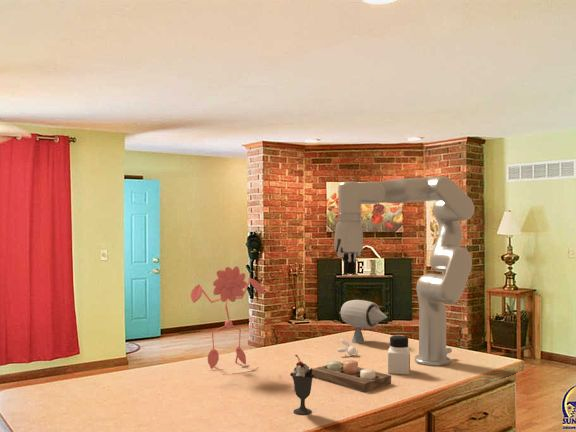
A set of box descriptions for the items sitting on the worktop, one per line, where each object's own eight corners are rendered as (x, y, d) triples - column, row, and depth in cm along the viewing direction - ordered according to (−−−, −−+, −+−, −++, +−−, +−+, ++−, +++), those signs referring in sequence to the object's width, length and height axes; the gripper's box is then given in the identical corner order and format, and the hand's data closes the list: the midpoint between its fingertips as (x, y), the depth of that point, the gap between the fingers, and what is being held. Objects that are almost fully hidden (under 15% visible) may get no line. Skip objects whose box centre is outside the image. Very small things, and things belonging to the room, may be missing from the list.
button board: (338, 369, 196) (338, 362, 196) (391, 383, 179) (391, 375, 179) (311, 376, 187) (311, 368, 187) (364, 392, 171) (364, 383, 171)
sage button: (334, 370, 191) (334, 360, 191) (344, 373, 188) (344, 362, 188) (324, 373, 188) (324, 362, 188) (334, 376, 185) (334, 365, 185)
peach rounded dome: (349, 370, 186) (350, 359, 186) (360, 373, 183) (360, 362, 183) (340, 372, 183) (340, 361, 183) (351, 375, 180) (351, 364, 180)
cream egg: (366, 379, 181) (366, 368, 181) (378, 382, 178) (378, 371, 178) (357, 382, 178) (357, 371, 178) (368, 385, 175) (368, 374, 175)
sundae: (288, 408, 156) (289, 352, 156) (313, 407, 157) (313, 352, 157) (291, 416, 150) (291, 358, 150) (316, 415, 150) (316, 358, 150)
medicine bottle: (409, 375, 189) (410, 338, 189) (387, 373, 191) (388, 337, 191) (409, 369, 196) (409, 334, 196) (388, 368, 198) (388, 333, 198)
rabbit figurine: (357, 357, 212) (337, 347, 213) (353, 363, 215) (334, 353, 216) (361, 346, 217) (342, 336, 218) (357, 352, 219) (338, 342, 220)
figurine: (186, 366, 198) (188, 265, 198) (256, 359, 209) (257, 263, 208) (199, 379, 184) (201, 270, 184) (273, 370, 195) (275, 268, 195)
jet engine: (355, 349, 226) (355, 304, 226) (336, 338, 245) (336, 297, 245) (389, 347, 230) (389, 303, 230) (368, 336, 250) (368, 296, 250)
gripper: (355, 218, 199) (355, 271, 199) (325, 218, 189) (325, 274, 189) (372, 218, 194) (372, 273, 194) (342, 218, 184) (342, 276, 184)
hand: (349, 273), depth 192 cm, fingers closed
